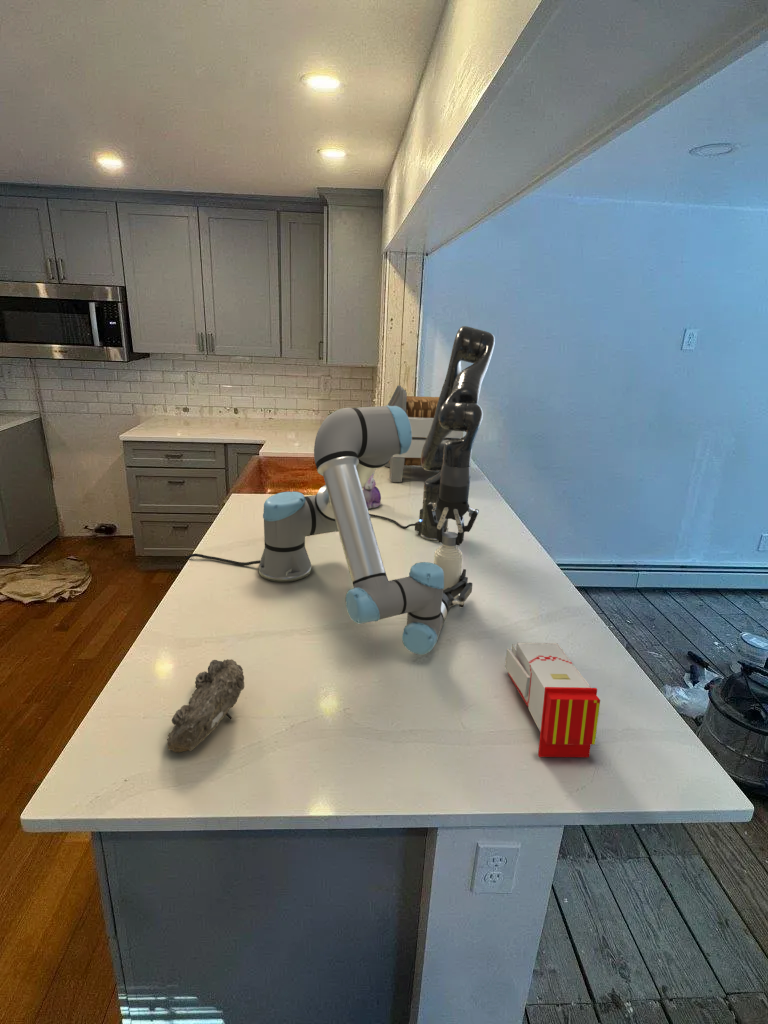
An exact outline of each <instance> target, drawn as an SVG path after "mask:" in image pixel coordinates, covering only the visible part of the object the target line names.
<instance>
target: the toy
mask: <svg viewBox="0 0 768 1024" xmlns="http://www.w3.org/2000/svg"><path fill="white" fill-rule="evenodd" d="M504 668H505V670H506V671H507V675H508V676H509V678H510V680H511V682H512V683H513V685H514V687H515V688H516V690H517V691H518V693H519V695H520V697H521V698H522V700H523V702H524V703H525V705H526V707H527V708H528V711H529V713H530V715H531V717H532V719H533V721H534V723H535V725H536V727H537V729H538V731H539V743H538V753H537V755H538V757H539V758H590V753H591V746H593V745H595V744H596V738H597V729H598V722H599V713H600V706H601V699H600V698H599V696H598V688H597V687H591V686H590V684H589V683H588V682H587V680H586V679H585V678H584V676H583V675H582V674H581V672H580V671H579V669H578V668H577V667H576V666H575V664H574V663H573V661H572V660H571V659H570V658H569V657H568V655H567V654H566V653H565V651H564V649H563V648H562V647H561V646H560V645H559V643H556V642H555V643H554V642H516V643H511V648H507V649H506V654H505V662H504Z"/></svg>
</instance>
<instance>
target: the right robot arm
mask: <svg viewBox="0 0 768 1024" xmlns="http://www.w3.org/2000/svg"><path fill="white" fill-rule="evenodd" d="M495 342H496V337H495V335H494V334H493V333H491V332H490V331H487V330H483V329H479V328H476V327H475V328H474V327H472V326H467V325H462V326H460V327H459V329H458V330H457V333H456V334H455V338H454V341H453V345H452V349H451V353H450V358H449V362H448V367H447V371H446V375H445V379H444V382H443V385H442V387H441V391H440V394H439V396H438V397H439V400H438V403H437V407H436V411H435V415H434V419H433V422H432V425H431V428H430V431H429V434H428V436H427V438H426V441H425V443H424V446H423V449H422V453H421V465H422V466H421V467H422V469H423V470H424V471H428V472H437V473H435V475H433V476H431V477H428V478H427V479H425V480H424V482H423V493H422V496H423V497H422V506H421V508H420V509H419V516H418V521H416V522H414V523H409V524H408V525H407V524H406V525H404V526H403V525H402V524H400V523H399V522H398V521H396V520H395V519H392V518H390V517H386V516H382V515H378V514H372V513H369V515H370V517H374V518H379V519H383V520H386V521H389V522H392V523H394V524H395V525H396V526H398V527H399V528H401V529H405V530H406V529H408V528H410V527H414V531H415V532H417V535H418V536H420V538H421V539H424V540H426V541H432V542H438V543H440V544H442V543H441V541H442V534H443V533H444V532H449V527H448V525H449V520H453V521H455V524H456V526H457V545H456V546H457V547H459V546H461V545H462V544H463V542H464V538H465V533H466V532H467V533H469V532H470V531H471V530H472V528H473V526H474V524H475V522H476V519H477V517H478V516H479V513H480V510H479V509H478V508H475V509H474V508H472V507H470V504H469V495H470V486H471V474H472V470H471V467H472V466H471V464H472V456H473V455H472V454H473V447H474V443H475V440H476V437H477V435H478V432H479V430H480V427H481V425H482V423H483V418H484V411H483V409H482V407H481V406H480V404H478V403H479V400H480V393H481V389H482V384H483V380H484V378H485V376H486V373H487V370H488V368H489V365H490V362H491V359H492V355H493V352H494V350H495V349H494V348H495V345H496V344H495ZM462 362H466V363H469V364H471V365H468V366H467V367H465V368H463V370H462ZM452 431H463V433H465V435H463V438H460V439H453V440H448V441H447V442H446V443H441V442H442V441H443V439H444V438H445V437H446V436H447V435H448V434H450V433H451V432H452ZM467 512H468V517H469V520H468V523H467V525H465V518H464V515H465V514H466V513H467Z"/></svg>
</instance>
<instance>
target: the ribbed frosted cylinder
mask: <svg viewBox="0 0 768 1024" xmlns="http://www.w3.org/2000/svg"><path fill="white" fill-rule="evenodd" d="M463 557H464V556H463V552H462V550H461V549H460V548H459V546H457V545H456V546H446V545H444V544H442V543H441V545H440V546H438V548H436V549H435V551H434V554H433V564H436V565H438V566H439V567H441V568H442V570H443V572H444V589H443V590H445V589H446V588H448V587H449V588H451V587H452V586H454V585H456V584H457V583H459V579H460V576H461V574H462V568H463V567H462V566H463ZM458 595H460V594H458ZM458 595H457V596H455V597H454V599H456V598H457V597H458ZM456 605H457V604H453V605H452V606H451V607H453V606H456Z"/></svg>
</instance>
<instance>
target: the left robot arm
mask: <svg viewBox="0 0 768 1024" xmlns="http://www.w3.org/2000/svg"><path fill="white" fill-rule="evenodd" d="M411 440H412V431H411V425H410V421H409V418H408V416H407V414H406V413H405V411H404V410H403V409H402V408H400V407H398V406H388V404H386V405H379V406H378V405H377V406H361V407H343V408H339V409H336V410H335V411H333V412H331V413H330V414H329V415H327V417H325V419H324V420H322V423H321V424H320V426H319V428H318V430H317V433H316V435H315V439H314V447H313V458H314V463H315V468H316V472H317V473H318V474H319V475H320V476H322V477H323V479H324V483H325V484H324V485H323V486H321V487H320V488H319V489H318V491H317V493H316V494H314V495H306V496H305V495H304V494H303V493H302V492H299V491H294V490H293V491H290V490H289V491H282V492H277V493H275V494H273V495H271V496H269V497H268V498H266V500H264V503H263V513H262V519H263V539H264V541H263V542H264V548H263V551H262V554H261V557H260V559H259V560H252V561H246V562H245V561H243V562H242V561H236V560H233V559H226V558H222V557H217V556H211V555H207V554H206V555H205V554H202V553H191V554H188V555H187V556H186V557H185V558H184V560H189V559H191V558H195V557H198V558H203V559H205V560H206V559H207V560H212V561H213V560H214V561H219V562H223V563H228V564H231V565H238V566H251V565H257V564H258V573H259V575H260V577H262V578H263V579H265V580H267V581H271V582H276V583H291V582H296V581H300V580H303V579H305V578H307V577H308V576H309V575H310V574H311V572H312V562H311V560H310V557H309V554H308V551H307V548H306V537H310V536H316V535H322V534H330V533H338V535H339V538H340V539H339V540H340V542H341V546H342V550H343V553H344V557H345V561H346V565H347V568H348V572H349V575H350V580H351V582H352V588H351V589H348V591H347V592H346V595H345V608H346V612H347V614H348V616H349V618H350V620H351V621H352V622H354V623H356V624H358V625H359V624H360V625H361V624H366V623H372V622H378V621H380V620H385V619H388V618H391V617H395V616H398V615H399V616H400V615H403V614H404V615H405V614H407V616H406V625H405V626H404V627H403V632H402V635H401V640H402V644H403V646H404V647H405V649H406V650H407V651H409V652H410V653H412V654H415V655H419V656H421V655H426V654H428V653H430V652H431V651H432V650H433V649H434V648H435V646H436V644H437V643H438V639H439V636H440V633H441V630H442V628H443V625H444V623H445V620H446V618H447V616H448V614H449V611H450V609H451V607H453V606H452V605H453V604H456V605H458V607H459V608H464V607H465V603H466V601H467V599H468V597H470V595H471V594H472V593H473V592H472V591H473V582H468V581H469V577H468V576H466V575H467V569H464V568H463V569H462V570H461V576H460V579H459V583H457V584H456V585H454V586H452V587H451V588H449V587H448V588H446V589H445V590H443V589H444V572H443V570H442V568H441V567H439V566H438V565H436V564H434V562H428V561H420V562H416V563H414V564H412V565H411V567H410V569H409V573H408V576H405V577H399V578H396V579H391V580H389V579H388V576H387V573H386V569H385V566H384V561H383V559H382V555H381V552H380V548H379V544H378V541H377V537H376V533H375V530H374V527H373V522H372V520H371V516H370V515H369V514H370V513H369V509H368V508H367V505H366V501H365V497H364V494H363V487H364V486H365V484H366V483H367V481H368V480H369V478H370V477H371V475H372V474H373V473H374V474H375V472H376V470H377V469H381V468H383V467H386V466H385V465H386V464H387V463H388V461H389V460H390V459H391V457H392V456H393V455H395V454H399V455H401V454H403V453H406V452H407V451H408V450H409V448H410V446H411ZM374 471H375V472H374ZM458 594H459V595H458ZM457 595H458V597H457V598H456V599H454V597H455V596H457Z"/></svg>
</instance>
